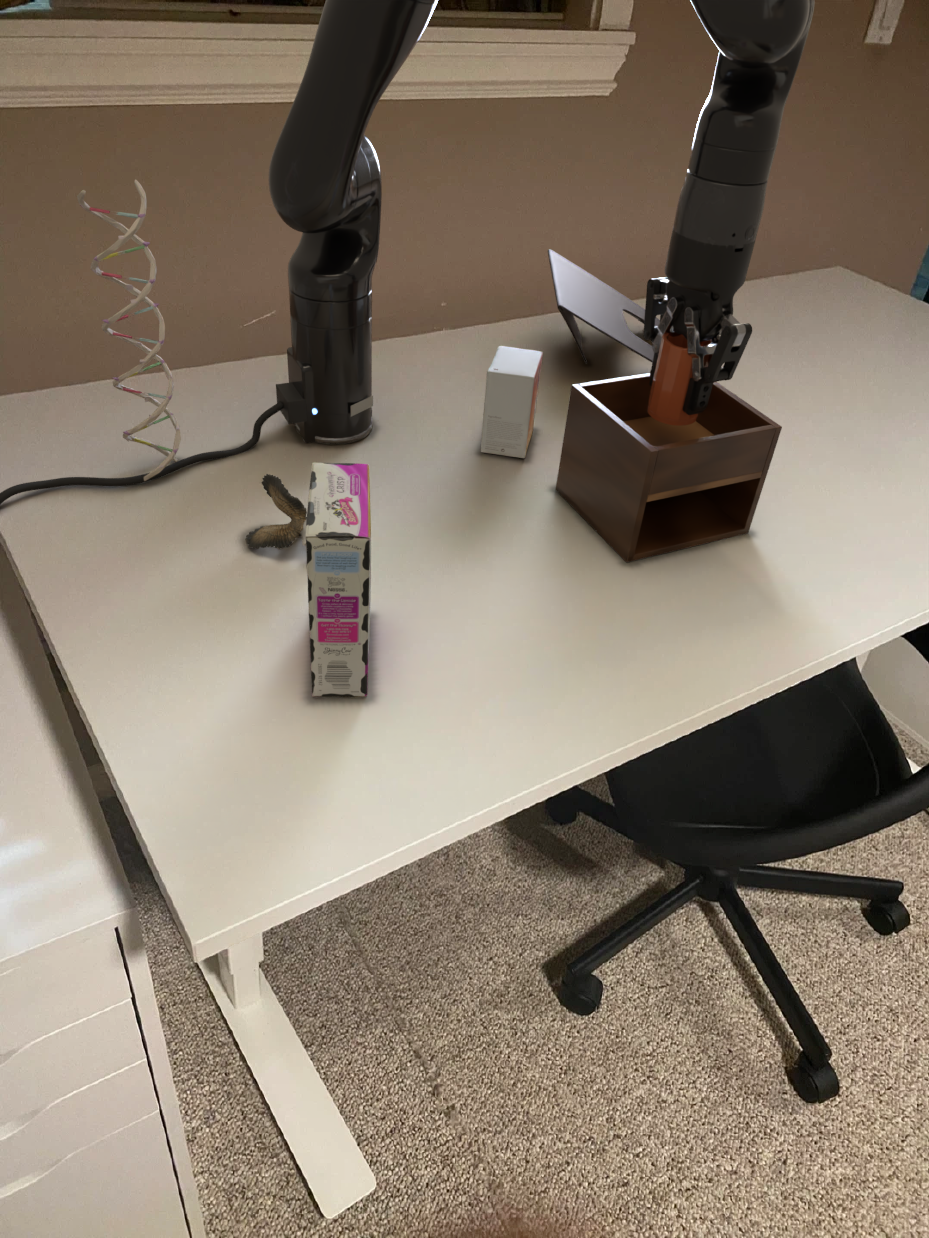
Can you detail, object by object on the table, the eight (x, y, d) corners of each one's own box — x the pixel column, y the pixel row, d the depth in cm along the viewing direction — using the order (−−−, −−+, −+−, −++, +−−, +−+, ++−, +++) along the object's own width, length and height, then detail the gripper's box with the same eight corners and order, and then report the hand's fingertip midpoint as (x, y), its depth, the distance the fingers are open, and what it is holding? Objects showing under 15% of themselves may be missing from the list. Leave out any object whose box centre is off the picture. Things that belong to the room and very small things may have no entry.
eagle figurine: (347, 514, 96) (266, 486, 96) (345, 486, 89) (257, 456, 89) (321, 579, 94) (238, 551, 93) (317, 556, 87) (227, 525, 87)
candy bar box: (371, 699, 77) (371, 538, 66) (310, 700, 76) (301, 537, 66) (370, 614, 85) (370, 460, 75) (316, 614, 85) (308, 459, 74)
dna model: (161, 452, 105) (116, 171, 86) (200, 471, 103) (162, 185, 83) (114, 474, 101) (54, 183, 82) (153, 494, 98) (101, 199, 79)
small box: (524, 460, 109) (535, 378, 103) (479, 453, 110) (486, 371, 103) (534, 430, 115) (544, 350, 109) (490, 423, 116) (498, 343, 109)
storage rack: (626, 562, 94) (651, 451, 86) (555, 490, 105) (571, 384, 96) (748, 533, 100) (782, 426, 92) (669, 467, 110) (693, 365, 102)
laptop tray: (664, 428, 131) (706, 376, 126) (529, 349, 124) (568, 291, 119) (642, 360, 149) (677, 313, 144) (523, 288, 141) (556, 236, 136)
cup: (666, 429, 92) (683, 353, 87) (637, 406, 96) (652, 332, 91) (707, 421, 94) (727, 347, 89) (677, 399, 98) (694, 326, 92)
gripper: (637, 208, 86) (607, 375, 97) (731, 257, 77) (687, 437, 87) (700, 203, 89) (665, 366, 100) (800, 250, 79) (748, 426, 90)
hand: (675, 399), depth 94 cm, fingers closed on cup, 5 cm apart
